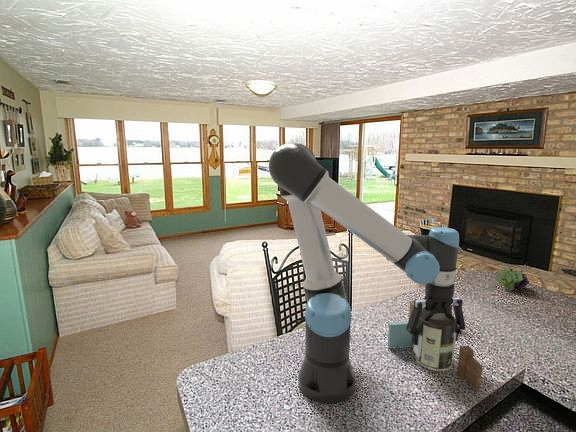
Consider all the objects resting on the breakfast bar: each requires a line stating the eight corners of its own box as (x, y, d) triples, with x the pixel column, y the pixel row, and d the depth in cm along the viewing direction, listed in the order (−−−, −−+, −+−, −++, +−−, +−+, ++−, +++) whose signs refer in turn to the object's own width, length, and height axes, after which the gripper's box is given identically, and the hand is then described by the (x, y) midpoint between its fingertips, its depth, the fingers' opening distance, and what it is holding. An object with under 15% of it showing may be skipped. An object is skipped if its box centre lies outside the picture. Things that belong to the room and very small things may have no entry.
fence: (473, 392, 88) (476, 361, 86) (408, 325, 121) (410, 301, 119) (525, 386, 90) (529, 356, 88) (447, 322, 123) (449, 299, 121)
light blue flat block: (431, 341, 110) (433, 319, 108) (434, 344, 108) (436, 321, 107) (387, 345, 108) (388, 322, 106) (389, 348, 106) (390, 325, 104)
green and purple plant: (528, 296, 151) (508, 294, 145) (506, 284, 160) (487, 281, 154) (539, 276, 149) (519, 273, 142) (516, 265, 158) (497, 261, 151)
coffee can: (446, 352, 105) (451, 310, 102) (456, 373, 95) (461, 327, 92) (412, 348, 107) (415, 307, 104) (417, 369, 97) (421, 324, 94)
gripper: (409, 289, 91) (403, 363, 95) (485, 284, 94) (476, 356, 98) (396, 279, 98) (392, 348, 102) (467, 274, 101) (460, 341, 106)
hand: (433, 352), depth 100 cm, fingers closed on coffee can, 10 cm apart
